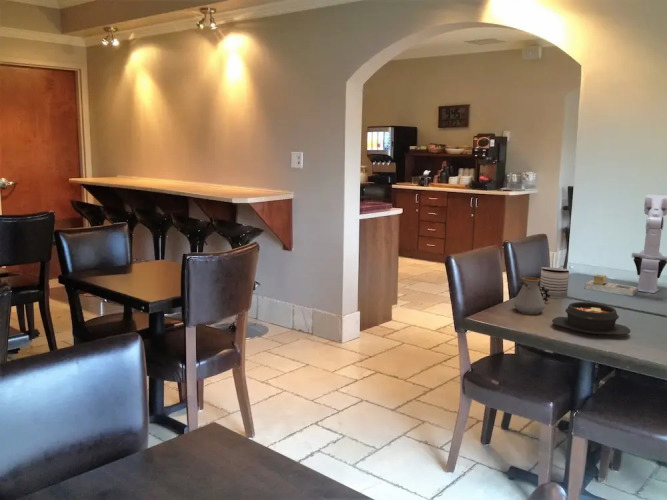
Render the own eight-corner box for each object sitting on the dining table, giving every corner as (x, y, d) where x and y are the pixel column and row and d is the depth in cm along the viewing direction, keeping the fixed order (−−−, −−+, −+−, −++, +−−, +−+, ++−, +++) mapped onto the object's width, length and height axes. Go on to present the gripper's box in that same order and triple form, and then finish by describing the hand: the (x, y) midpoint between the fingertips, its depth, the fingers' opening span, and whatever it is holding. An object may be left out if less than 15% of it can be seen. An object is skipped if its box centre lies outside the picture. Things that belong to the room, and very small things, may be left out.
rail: (590, 285, 280) (591, 280, 279) (637, 292, 267) (638, 287, 267) (584, 288, 273) (585, 283, 272) (632, 296, 260) (633, 290, 260)
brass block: (595, 287, 276) (597, 274, 275) (604, 288, 273) (606, 276, 272) (593, 288, 273) (594, 275, 272) (602, 290, 270) (603, 277, 269)
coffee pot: (517, 306, 238) (520, 268, 236) (547, 310, 233) (550, 272, 230) (502, 318, 220) (505, 278, 218) (534, 323, 215) (538, 282, 212)
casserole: (548, 332, 205) (550, 308, 204) (554, 318, 222) (557, 296, 220) (629, 344, 194) (632, 319, 193) (630, 329, 211) (632, 306, 210)
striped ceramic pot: (535, 295, 257) (538, 267, 255) (543, 290, 266) (545, 264, 264) (563, 299, 251) (565, 271, 249) (570, 294, 260) (572, 267, 258)
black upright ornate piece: (532, 308, 236) (549, 303, 244) (534, 291, 235) (551, 288, 243) (518, 304, 241) (535, 300, 249) (519, 288, 240) (536, 284, 248)
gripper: (631, 243, 256) (627, 275, 258) (669, 248, 247) (665, 280, 249) (635, 241, 261) (631, 272, 264) (672, 246, 252) (668, 277, 255)
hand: (648, 276), depth 257 cm, fingers open, 7 cm apart
